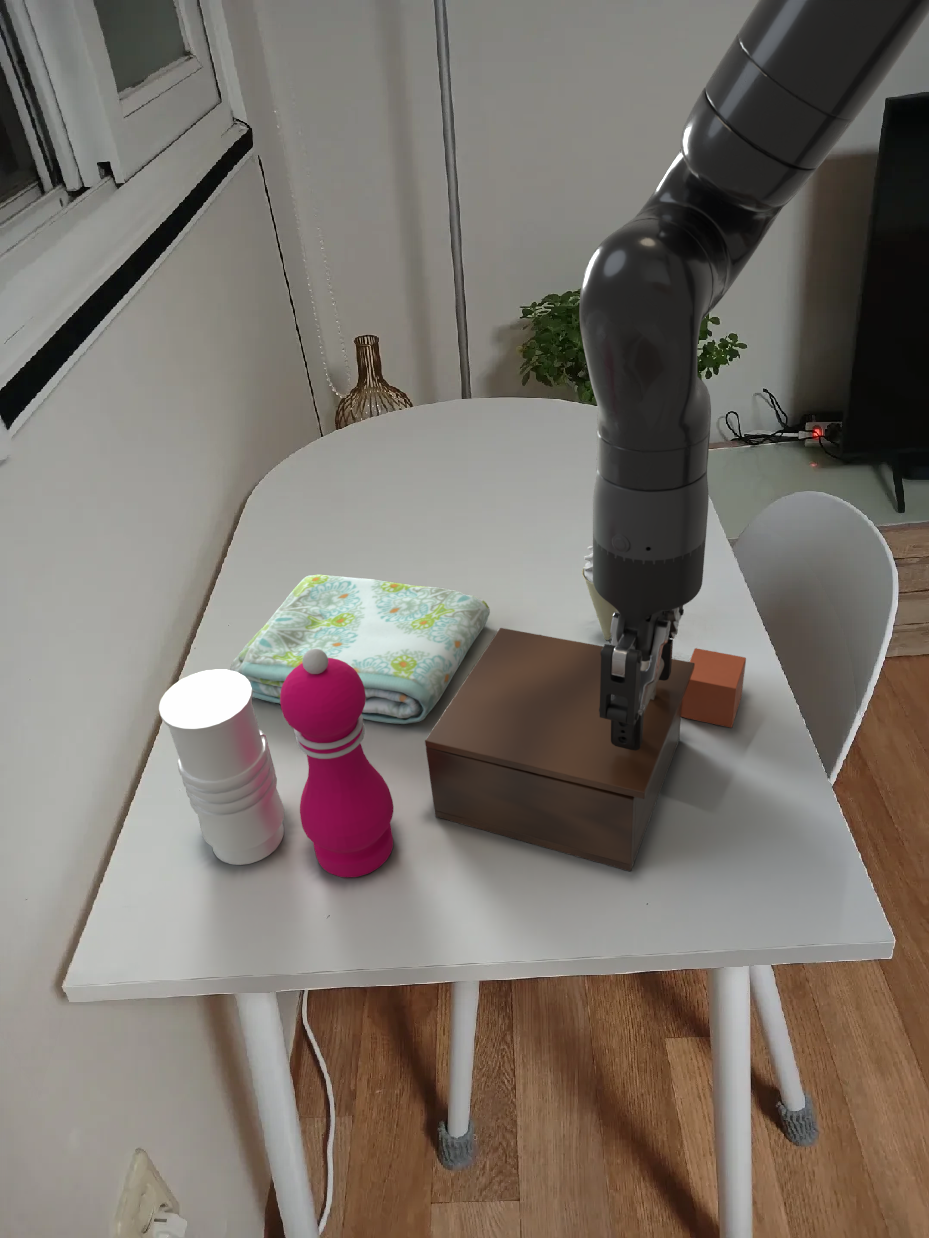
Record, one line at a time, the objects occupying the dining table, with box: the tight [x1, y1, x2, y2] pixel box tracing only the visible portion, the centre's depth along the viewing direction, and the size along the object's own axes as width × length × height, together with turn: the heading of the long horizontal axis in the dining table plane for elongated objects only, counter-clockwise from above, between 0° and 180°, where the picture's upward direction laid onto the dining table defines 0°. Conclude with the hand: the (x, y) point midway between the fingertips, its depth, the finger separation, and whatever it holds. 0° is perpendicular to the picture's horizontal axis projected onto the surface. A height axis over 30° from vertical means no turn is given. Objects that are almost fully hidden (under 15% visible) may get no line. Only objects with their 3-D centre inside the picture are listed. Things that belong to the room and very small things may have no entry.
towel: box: [229, 574, 491, 725], centre depth 95 cm, size 18×21×5 cm
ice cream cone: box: [581, 544, 618, 641], centre depth 92 cm, size 5×5×15 cm
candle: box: [158, 668, 285, 866], centre depth 74 cm, size 7×7×15 cm
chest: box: [425, 702, 682, 872], centre depth 79 cm, size 17×16×8 cm
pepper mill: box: [280, 649, 394, 878], centre depth 71 cm, size 7×7×20 cm
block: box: [681, 647, 747, 729], centre depth 86 cm, size 5×5×5 cm
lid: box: [424, 627, 695, 799], centre depth 75 cm, size 17×16×5 cm
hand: (642, 709), depth 73 cm, fingers open, 8 cm apart
